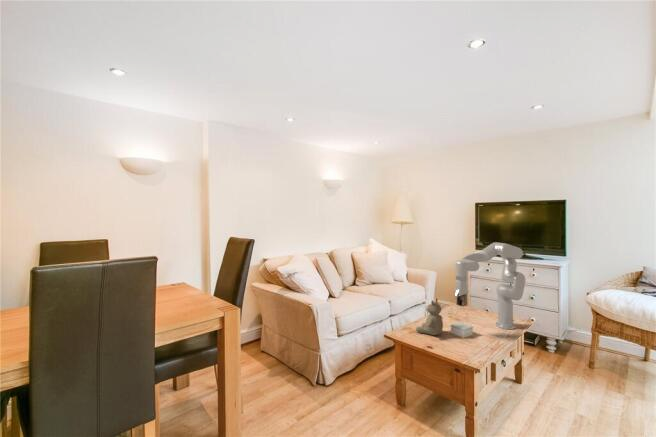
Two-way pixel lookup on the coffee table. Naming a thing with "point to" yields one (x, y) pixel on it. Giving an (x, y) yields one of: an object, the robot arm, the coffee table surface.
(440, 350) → the coffee table surface
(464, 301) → the walnut block
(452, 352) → the coffee table surface
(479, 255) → the robot arm
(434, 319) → the grey cat statue
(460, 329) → the pale grey box
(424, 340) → the coffee table surface
